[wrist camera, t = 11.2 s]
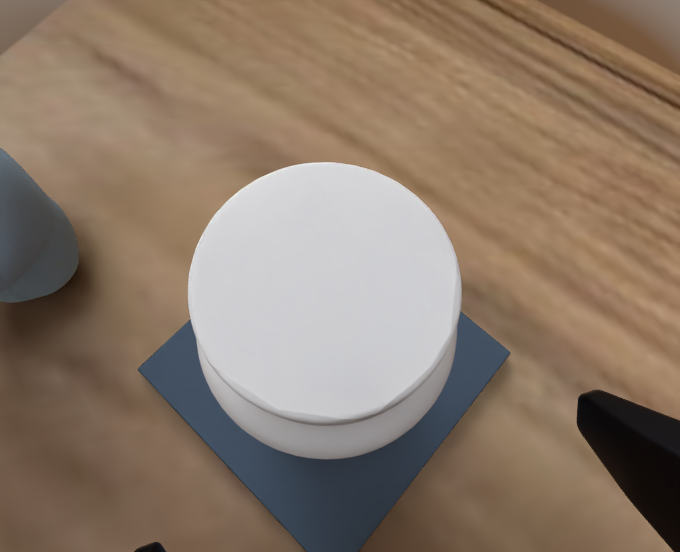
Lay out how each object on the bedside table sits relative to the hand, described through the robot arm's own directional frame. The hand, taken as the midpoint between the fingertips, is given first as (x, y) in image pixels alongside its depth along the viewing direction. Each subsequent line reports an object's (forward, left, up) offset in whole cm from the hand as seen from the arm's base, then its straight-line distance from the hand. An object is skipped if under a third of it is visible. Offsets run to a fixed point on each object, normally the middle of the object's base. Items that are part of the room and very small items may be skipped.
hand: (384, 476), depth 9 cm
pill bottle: (+3, -2, -8) cm, 9 cm away
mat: (+3, -2, -9) cm, 10 cm away
